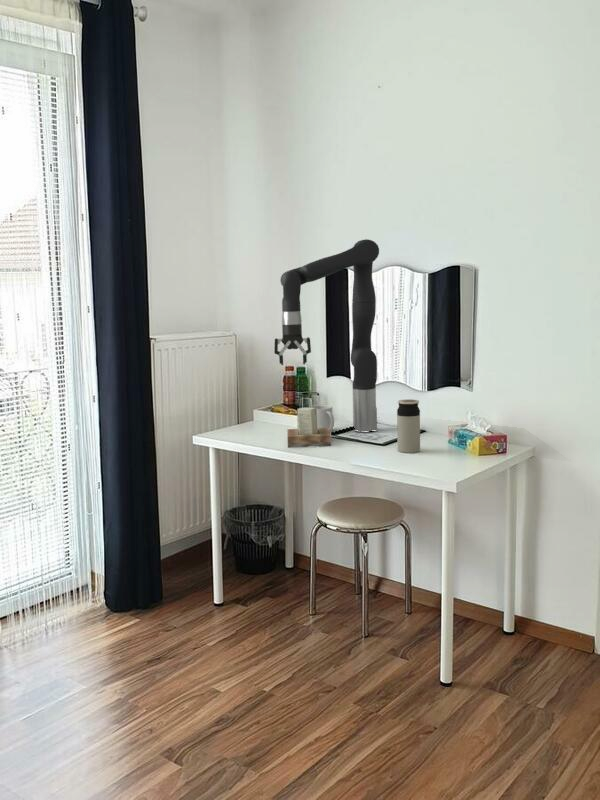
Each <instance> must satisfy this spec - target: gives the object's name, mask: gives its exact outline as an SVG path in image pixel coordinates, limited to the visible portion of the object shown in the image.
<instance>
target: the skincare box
mask: <svg viewBox="0 0 600 800" xmlns="http://www.w3.org/2000/svg"><path fill="white" fill-rule="evenodd" d="M296 412H297V423H298V425H297V426H298V427H297V429H299V435H308V434H318V427H317V408H310V407H300V408H297V411H296Z"/></svg>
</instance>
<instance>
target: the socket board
mask: <svg viewBox="0 0 600 800" xmlns="http://www.w3.org/2000/svg"><path fill="white" fill-rule="evenodd" d="M286 432H287V437H286V438H287V448H309V447H308V446H316V447H331V446H332V434H331V433H330V430H329V428H318V434H308V435H299V428H291V429H287V431H286Z"/></svg>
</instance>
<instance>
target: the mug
mask: <svg viewBox="0 0 600 800" xmlns="http://www.w3.org/2000/svg"><path fill="white" fill-rule="evenodd" d="M309 408H317V427H318V428H329V430H330V434H331V433H333V432H334V426H335V417H334V415H333V406H331V405H323V404H320V405H312V406H311V407H309ZM332 431H333V432H332Z"/></svg>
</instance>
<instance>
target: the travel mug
mask: <svg viewBox="0 0 600 800" xmlns="http://www.w3.org/2000/svg"><path fill="white" fill-rule="evenodd" d="M419 403H420V401H419V400H418V399H413V398H411V399H410V398H409V399H400V400H398V401H397V404H398V407H397V410H396V421H397V422H396V423H397V424H396V425H397V426H396V427H397V428H396V430H397V431H396V432H397V433H396V434H397V436H396V437H397V439H396V440H397V442H396V443H397V451H398V452H399V453H402V454H415V453H418V452H420V451H421V410H420V408H419Z"/></svg>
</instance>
